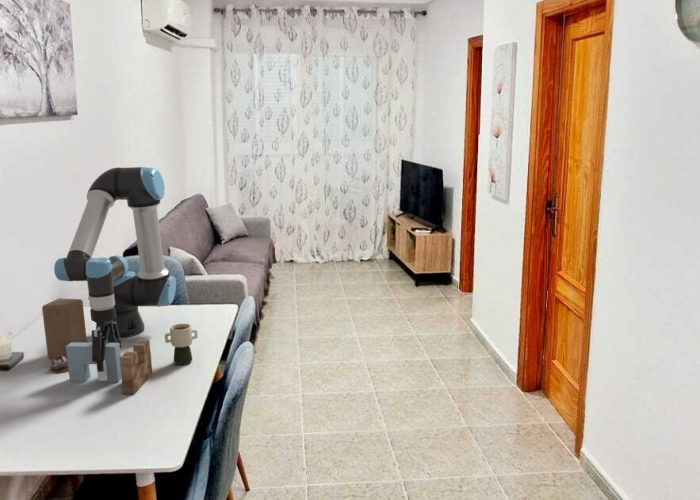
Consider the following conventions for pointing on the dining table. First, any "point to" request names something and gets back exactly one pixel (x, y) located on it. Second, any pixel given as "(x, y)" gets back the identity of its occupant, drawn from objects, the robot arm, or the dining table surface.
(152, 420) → the dining table surface
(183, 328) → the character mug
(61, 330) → the wooden block
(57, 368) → the pastry
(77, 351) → the blue arch block
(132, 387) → the wooden stepped blocks
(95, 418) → the dining table surface
